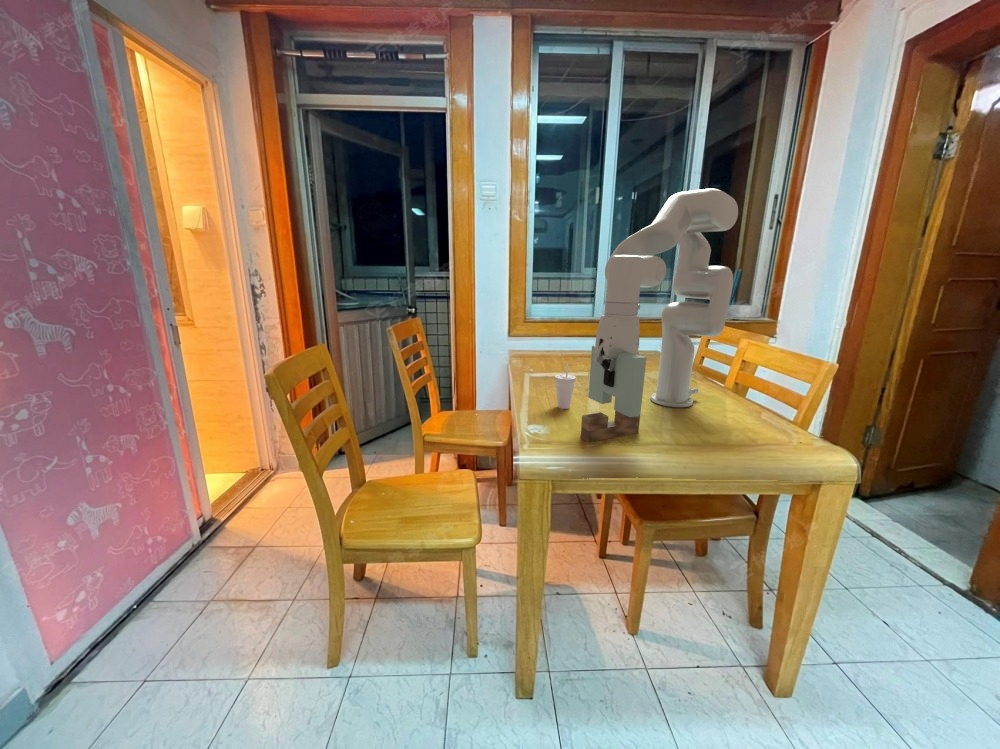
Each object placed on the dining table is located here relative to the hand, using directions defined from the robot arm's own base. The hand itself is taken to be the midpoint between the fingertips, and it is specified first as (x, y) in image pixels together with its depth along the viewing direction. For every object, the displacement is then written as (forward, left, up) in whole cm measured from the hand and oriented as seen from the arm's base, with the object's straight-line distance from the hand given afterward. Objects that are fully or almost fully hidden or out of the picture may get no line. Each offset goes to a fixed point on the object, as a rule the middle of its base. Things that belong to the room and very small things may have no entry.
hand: (614, 384), depth 99 cm
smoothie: (-1, -23, -14) cm, 27 cm away
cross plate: (0, 0, -6) cm, 6 cm away
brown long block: (0, 0, -14) cm, 14 cm away
